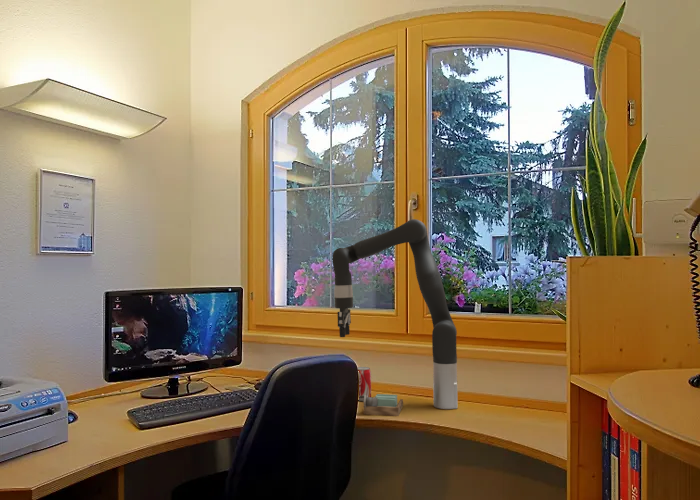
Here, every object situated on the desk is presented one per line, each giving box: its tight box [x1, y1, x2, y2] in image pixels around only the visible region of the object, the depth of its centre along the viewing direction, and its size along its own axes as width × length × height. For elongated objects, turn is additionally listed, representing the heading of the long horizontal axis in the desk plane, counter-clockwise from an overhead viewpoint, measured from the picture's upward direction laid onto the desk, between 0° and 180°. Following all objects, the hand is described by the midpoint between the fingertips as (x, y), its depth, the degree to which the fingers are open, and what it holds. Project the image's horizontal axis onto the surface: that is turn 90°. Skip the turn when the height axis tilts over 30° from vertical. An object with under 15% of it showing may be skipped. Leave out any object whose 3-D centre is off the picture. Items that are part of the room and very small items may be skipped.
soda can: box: [357, 366, 372, 402], centre depth 227 cm, size 7×7×13 cm
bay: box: [360, 395, 404, 417], centre depth 209 cm, size 14×17×7 cm
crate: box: [374, 393, 398, 407], centre depth 215 cm, size 8×8×4 cm
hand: (344, 335), depth 224 cm, fingers open, 8 cm apart
